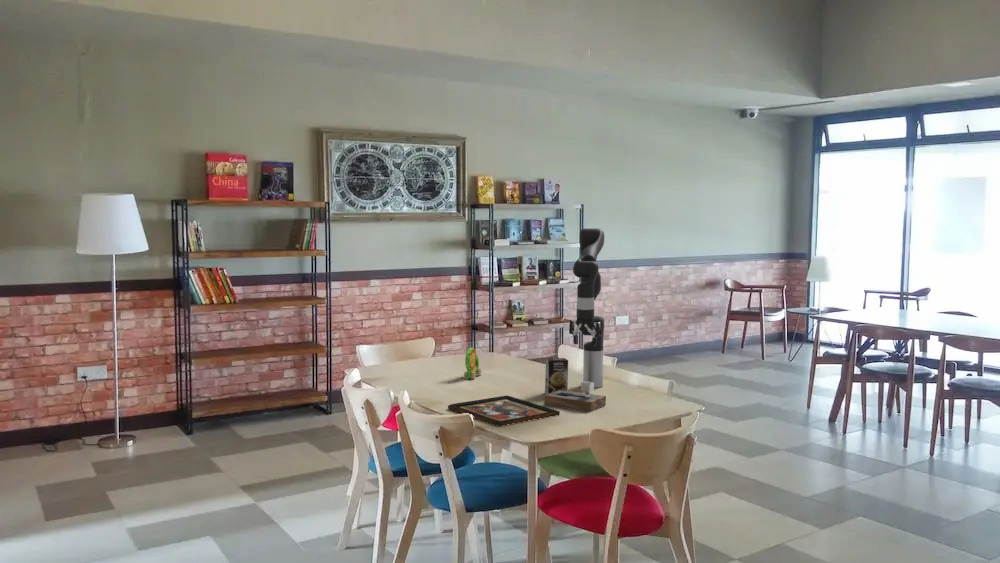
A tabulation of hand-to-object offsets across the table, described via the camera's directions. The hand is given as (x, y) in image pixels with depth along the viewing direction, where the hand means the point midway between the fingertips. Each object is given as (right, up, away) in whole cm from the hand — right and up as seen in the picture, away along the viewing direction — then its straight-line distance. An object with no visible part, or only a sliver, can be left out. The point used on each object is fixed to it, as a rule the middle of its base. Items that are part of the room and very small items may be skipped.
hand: (585, 345), depth 347 cm
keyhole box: (-5, -25, -3) cm, 26 cm away
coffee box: (-11, -24, +18) cm, 32 cm away
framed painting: (-35, -27, -16) cm, 47 cm away
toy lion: (-50, -21, +55) cm, 77 cm away
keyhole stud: (0, -25, -6) cm, 25 cm away
